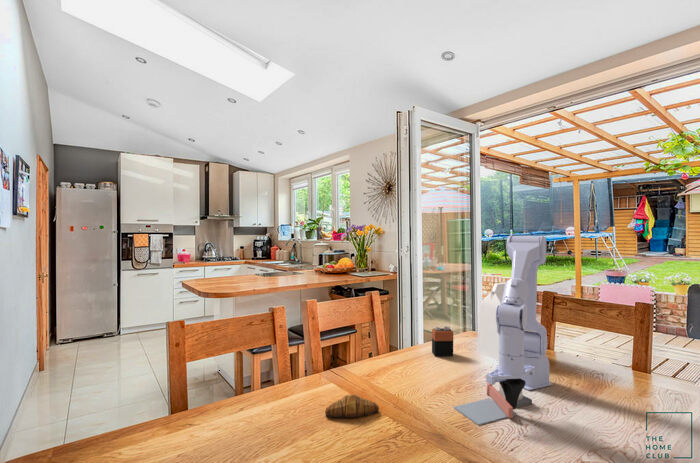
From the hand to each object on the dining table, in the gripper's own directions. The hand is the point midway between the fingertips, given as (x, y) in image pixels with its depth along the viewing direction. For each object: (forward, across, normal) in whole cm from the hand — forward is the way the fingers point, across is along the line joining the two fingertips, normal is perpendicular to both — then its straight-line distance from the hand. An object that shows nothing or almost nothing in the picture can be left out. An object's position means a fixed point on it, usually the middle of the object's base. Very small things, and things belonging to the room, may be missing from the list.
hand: (511, 407), depth 90 cm
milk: (+2, -32, -33) cm, 46 cm away
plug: (+2, -6, -5) cm, 8 cm away
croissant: (+2, +36, -16) cm, 39 cm away
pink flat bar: (+2, 0, -4) cm, 5 cm away
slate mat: (+2, +5, -4) cm, 7 cm away
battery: (+2, -12, -41) cm, 43 cm away
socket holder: (+2, -6, -5) cm, 8 cm away
